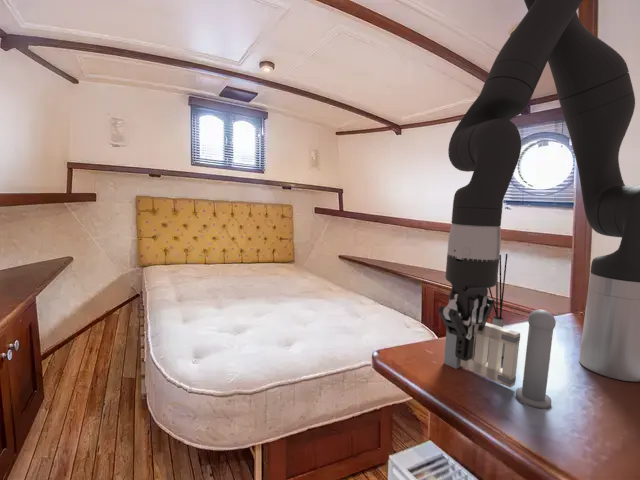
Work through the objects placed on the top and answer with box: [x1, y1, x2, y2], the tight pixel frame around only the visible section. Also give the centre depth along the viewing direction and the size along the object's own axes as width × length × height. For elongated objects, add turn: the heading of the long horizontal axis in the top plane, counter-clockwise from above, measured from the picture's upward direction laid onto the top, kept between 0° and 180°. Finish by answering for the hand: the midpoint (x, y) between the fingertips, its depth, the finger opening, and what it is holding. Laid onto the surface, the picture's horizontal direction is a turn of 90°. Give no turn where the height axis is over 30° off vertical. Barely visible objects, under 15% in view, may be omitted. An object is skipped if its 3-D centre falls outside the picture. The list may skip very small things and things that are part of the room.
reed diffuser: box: [488, 253, 508, 357], centre depth 66 cm, size 10×7×20 cm
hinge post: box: [514, 309, 557, 410], centre depth 50 cm, size 5×5×14 cm
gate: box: [460, 322, 521, 388], centre depth 56 cm, size 8×2×9 cm, turn 37°
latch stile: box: [443, 299, 476, 369], centre depth 60 cm, size 4×6×14 cm
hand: (463, 358), depth 55 cm, fingers closed
